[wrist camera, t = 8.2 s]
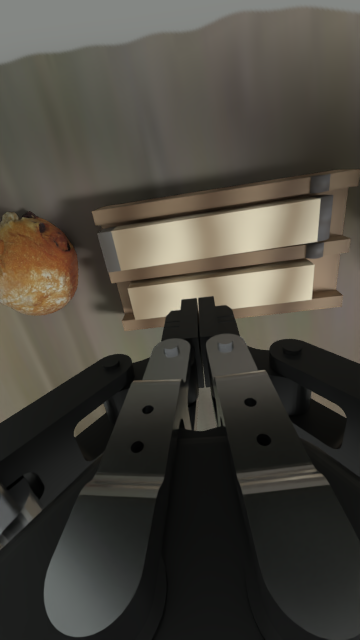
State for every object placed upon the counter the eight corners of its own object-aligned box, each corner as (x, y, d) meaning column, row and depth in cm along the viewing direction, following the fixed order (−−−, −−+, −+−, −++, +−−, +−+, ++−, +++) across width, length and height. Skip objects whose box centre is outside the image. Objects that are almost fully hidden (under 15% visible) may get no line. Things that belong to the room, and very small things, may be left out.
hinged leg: (324, 193, 24) (339, 195, 22) (321, 233, 26) (334, 239, 23) (103, 228, 25) (96, 233, 23) (113, 264, 27) (107, 272, 24)
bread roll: (7, 260, 34) (-37, 308, 29) (-8, 184, 26) (-72, 233, 21) (85, 291, 36) (55, 341, 31) (93, 229, 28) (55, 283, 23)
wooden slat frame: (336, 169, 25) (367, 168, 21) (324, 291, 31) (346, 310, 26) (104, 206, 27) (88, 212, 23) (131, 314, 33) (122, 335, 29)
